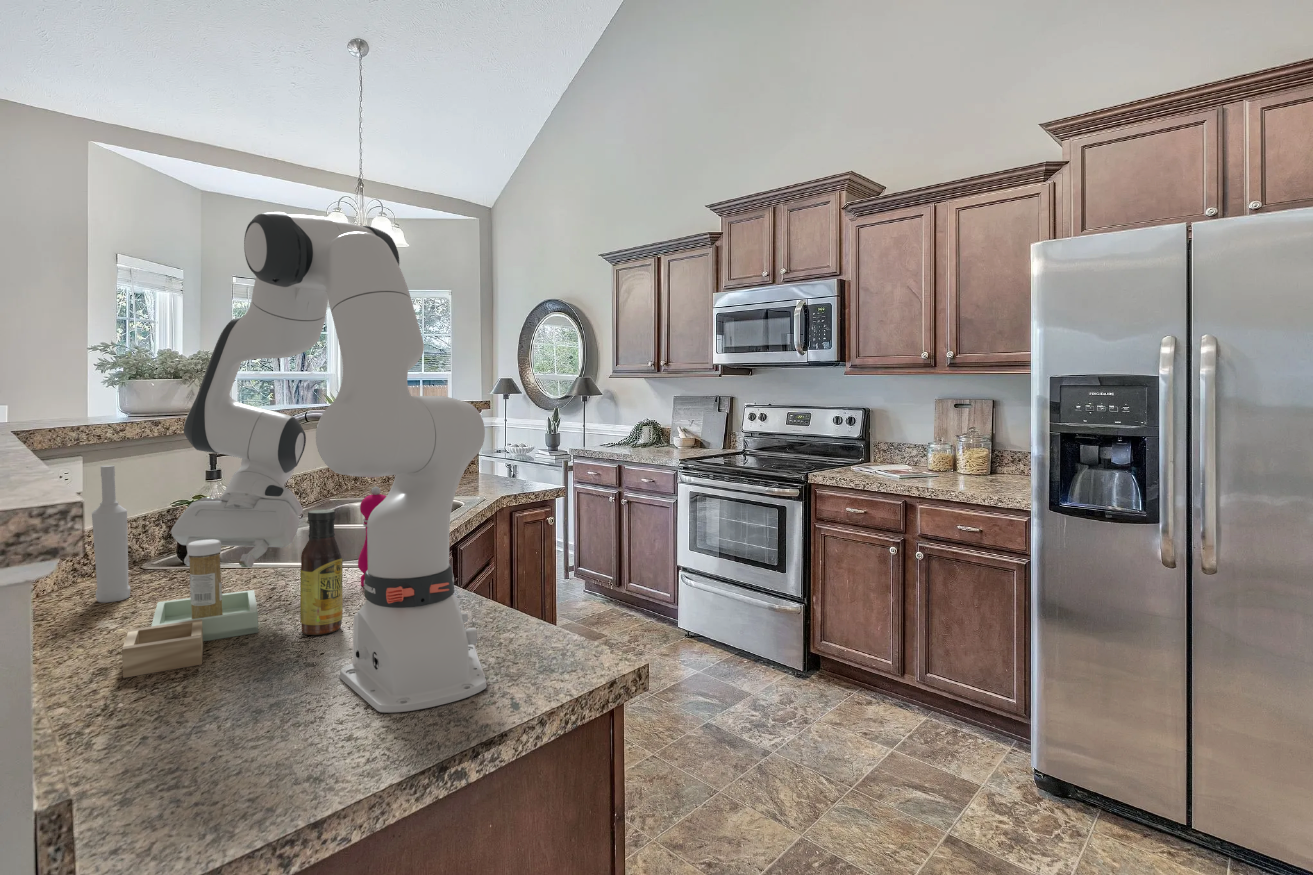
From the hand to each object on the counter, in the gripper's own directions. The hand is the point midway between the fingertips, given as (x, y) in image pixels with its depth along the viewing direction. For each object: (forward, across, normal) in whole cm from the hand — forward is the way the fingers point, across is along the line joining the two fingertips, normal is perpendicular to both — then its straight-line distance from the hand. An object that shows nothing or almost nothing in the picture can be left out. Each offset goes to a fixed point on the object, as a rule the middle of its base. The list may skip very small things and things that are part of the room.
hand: (217, 565), depth 116 cm
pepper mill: (-10, +17, +24) cm, 31 cm away
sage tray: (+9, 0, +4) cm, 10 cm away
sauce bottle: (+9, +20, +4) cm, 22 cm away
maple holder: (+19, +3, -5) cm, 20 cm away
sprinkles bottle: (+9, 0, +4) cm, 9 cm away
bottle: (0, -27, +15) cm, 31 cm away
